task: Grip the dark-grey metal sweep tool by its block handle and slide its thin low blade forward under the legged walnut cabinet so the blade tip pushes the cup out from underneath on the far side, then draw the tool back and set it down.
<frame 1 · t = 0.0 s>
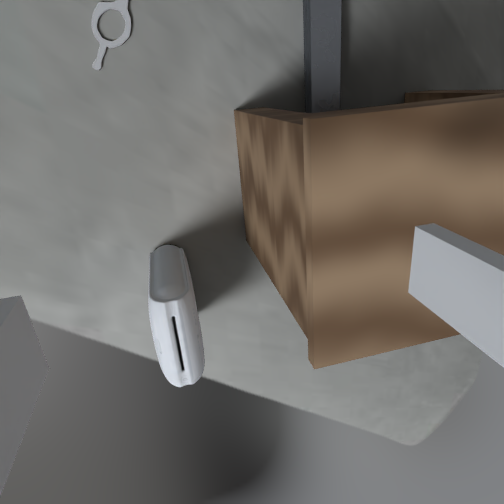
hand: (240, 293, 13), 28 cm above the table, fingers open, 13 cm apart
photo printer: (172, 284, 43), on the table
cabinet: (336, 166, 42), on the table
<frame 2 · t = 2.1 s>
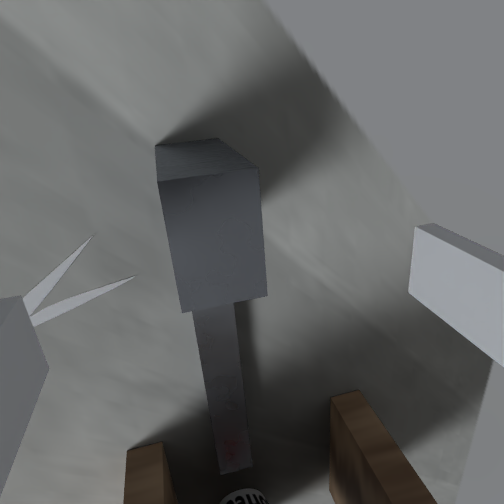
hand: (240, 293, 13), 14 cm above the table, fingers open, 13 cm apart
cup: (240, 503, 39), on the table
sweep tool: (193, 188, 25), on the table
cabinet: (255, 468, 37), on the table
scissors: (2, 331, 26), on the table
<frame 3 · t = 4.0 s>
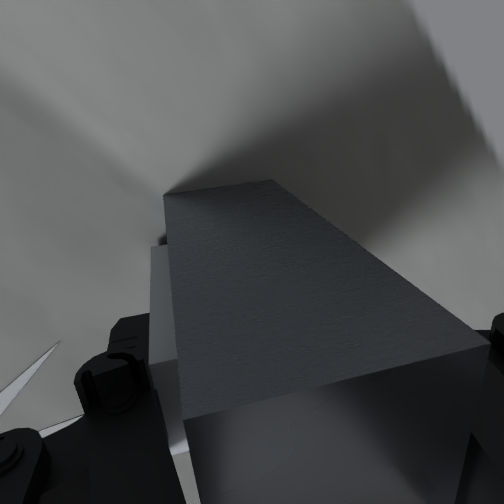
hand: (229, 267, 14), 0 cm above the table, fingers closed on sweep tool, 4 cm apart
sweep tool: (228, 262, 15), on the table, touching gripper
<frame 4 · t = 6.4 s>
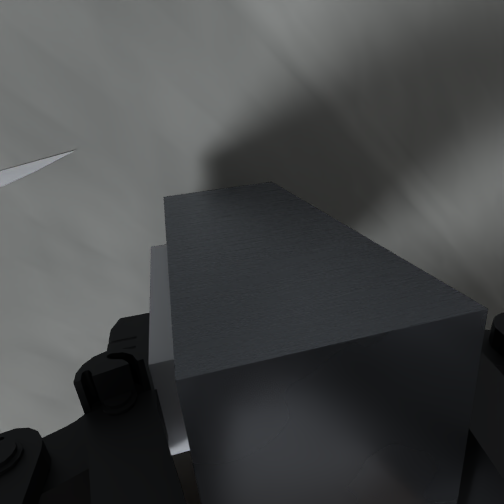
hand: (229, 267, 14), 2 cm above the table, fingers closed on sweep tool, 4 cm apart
sweep tool: (228, 264, 15), point 2 cm above the table, touching cup, gripper
when the fingers open (1 cm above the table, at t = 9.5 s): sweep tool stays where it is, on the table.
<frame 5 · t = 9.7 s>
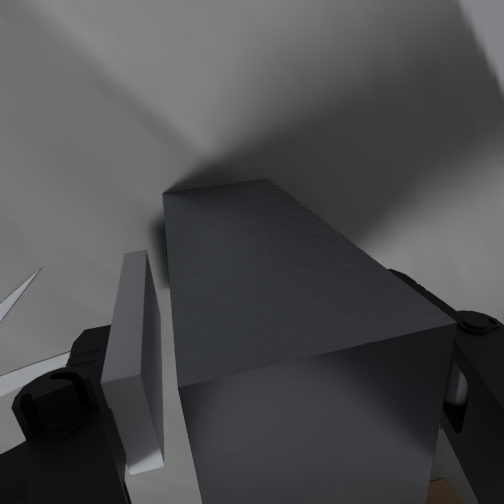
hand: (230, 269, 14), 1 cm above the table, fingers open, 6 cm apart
sweep tool: (225, 258, 15), on the table
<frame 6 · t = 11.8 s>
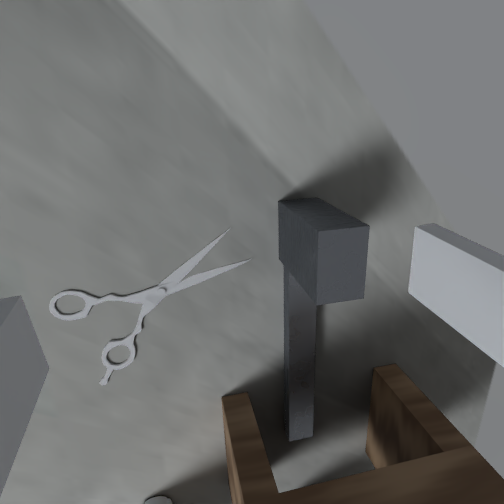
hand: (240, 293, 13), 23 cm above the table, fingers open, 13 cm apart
sweep tool: (297, 228, 37), on the table
cabinet: (311, 424, 47), on the table
scissors: (156, 293, 37), on the table
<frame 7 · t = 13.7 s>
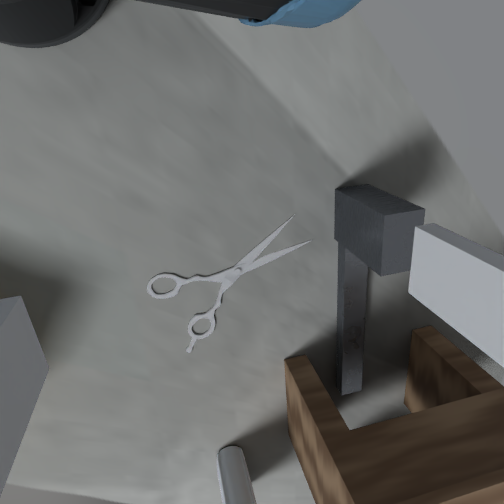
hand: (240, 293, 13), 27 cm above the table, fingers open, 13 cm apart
sweep tool: (350, 212, 43), on the table
photo printer: (231, 467, 55), on the table
cabinet: (358, 380, 54), on the table
scissors: (231, 272, 43), on the table
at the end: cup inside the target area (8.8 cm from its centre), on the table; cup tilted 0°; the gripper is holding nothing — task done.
